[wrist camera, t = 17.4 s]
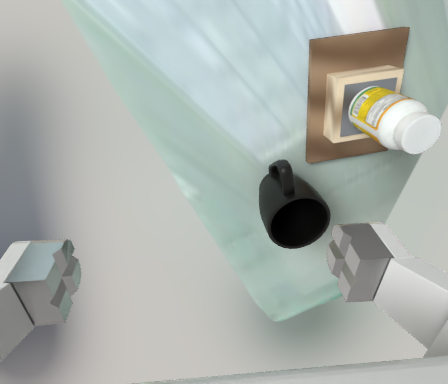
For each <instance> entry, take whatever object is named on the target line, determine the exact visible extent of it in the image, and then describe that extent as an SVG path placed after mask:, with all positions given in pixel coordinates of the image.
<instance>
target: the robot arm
mask: <svg viewBox="0 0 448 384" xmlns="http://www.w3.org/2000/svg"><path fill="white" fill-rule="evenodd" d="M331 235H332V237H333V239H334V240H333V241H332V242H331V243H330V244H329V245H328V249H327V262H328V265H329V268H330V270H331V273H332V274H333V275H335V276H336V277H338V278H339V281H338V284H337V285H338V287H339V289H340V291H341V293H342V295H343V297H344V299H345V301H346V302H361V301H373V303H374V304H375V305H377V306H378V307H379V308H380V309H381V310H382V311H384V312H385V313H386V314H387V315H388V316H390V317H391V318H392V319H393V320H394V321H395V322H397V323H398V324H399V325H400V326H401V327H403V328H404V329H405V330H406V331H407V332H408V333H410V334H411V335H412V336H413V337H414V338H416V339H417V340H418V341H419V342H420V343H422V344H423V345H424V346H425V347H426V348H427V349H428V350H427V352H426V353H425V355H424V357H423V358H416V359H404V360H394V361H382V362H370V363H360V364H349V365H336V366H325V367H314V368H303V369H291V370H281V371H269V372H258V373H246V374H235V375H224V376H213V377H201V378H190V379H179V380H167V381H156V382H146V383H133V384H448V273H447V272H445V271H443V270H441V269H439V268H437V267H436V266H434V265H432V264H430V263H428V262H426V261H424V260H422V259H421V258H419V257H412V256H411V254H410V253H409V252H408V251H407V249H406V248H405V247H404V246H403V244H401V242H400V241H399V240H398V238H397V237H396V236H395V235H394V233H393V232H392V231H391V230H390V228H389V227H388V226H387V225H386V224H385V223H384V222H382V221H380V222H366V223H355V224H339V225H335V226H334V227H333V229H332V233H331ZM73 251H74V247H73V245H72V242H71V241H70V240H68V239H67V240H39V241H37V240H36V241H17V242H14V243H13V244H11V245H10V247H9V248H8V250H7V251H6V252H5V254H4V255H3V257H2V258H1V260H0V362H1V361H2V360H3V359H4V358H5V357H6V356H7V355H8V354H9V353H10V352H11V351H12V350H13V349H14V348H15V347H16V346H17V345H18V344H19V343H20V341H22V340H23V339H24V338H25V336H26V335H28V334H29V333H30V332H31V331H32V329H34V326H38V325H48V324H58V323H65V322H66V320H67V317H68V314H69V312H70V309H71V306H72V304H73V302H72V300H71V297H70V296H71V295H73V294H74V293H75V292H76V291H77V290H78V287H79V284H80V279H81V268H80V263H79V260H78V259H77V258H75V257H74V256H72V254H73Z"/></svg>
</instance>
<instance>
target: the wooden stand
mask: <svg viewBox="0 0 448 384" xmlns="http://www.w3.org/2000/svg"><path fill="white" fill-rule="evenodd" d="M409 29H410V27H399V28H392V29H385V30H377V31H370V32H362V33H355V34H348V35H340V36H333V37H325V38H318V39H311V40H310V46H309V76H308V105H307V135H306V162H307V163H314V162H320V161H326V160H332V159H338V158H344V157H350V156H356V155H362V154H368V153H375V152H381V151H387V150H388V148H386V147H384V146H383V145H381V144H380V143H378V142H377V141H375V140H374V139H372V138H371V137H369V136H368V135H366V134H365V133H363V132H362V131H360V130H359V129H357V128H356V127H354V126H353V125H352V124H351V122H350V120H349V115H348V111H349V106H350V104H351V102H352V100H353V98H354V97H355V96H356V95H357V94H358V93H359V92H360V91H361V90H363V89H365V88H367V87H371V86H380V87H383V88H385V89H388V90H391V91H393V92H396V93H399V94H400V89H401V83H402V78H403V72H404V69H402V68H403V62H404V56H405V51H406V45H407V40H408V34H409Z"/></svg>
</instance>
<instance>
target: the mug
mask: <svg viewBox="0 0 448 384" xmlns="http://www.w3.org/2000/svg"><path fill="white" fill-rule="evenodd" d="M259 207H260V214H261V218H262V221H263V223H264V226H265V228H266V230H267V233H268V235H269V237H270V239H271V240H272V241H273V242H274V243H275V244H277V245H278V246H281V247H283V248H289V249H295V248H301V247H305V246H307V245H310V244H311V243H313V242H315V241H316V240H317V239H319V238H320V237H321V236H322V235H323V233H324V232H325V231H326V229H327V227H328V225H329V222H330V210H329V207H328V205H327V204H326V202H325V201H324V200H323V199H322V197H321V196H320V195H319V194H318V192H317V191H316V190H315V189H314V188H313V187H311V186H310V185H309V184H308V183H307V182H305V181H304V180H302V179H300V178H299V177H297V176H294V175H293V172H292V168H291V166H290V164H289V163H288V162H287V161H286V160H278V161H276V162H274V163H272V164H271V165H270V166H269V174H268V175H266V176H265V177H264V178H263V180H262V181H261V184H260V187H259Z"/></svg>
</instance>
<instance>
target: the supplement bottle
mask: <svg viewBox="0 0 448 384" xmlns="http://www.w3.org/2000/svg"><path fill="white" fill-rule="evenodd" d="M348 115H349V120H350V122H351V124H352V125H353V126H354V127H356V128H357V129H359V130H360V131H362V132H363V133H365V134H366V135H368V136H369V137H371V138H372V139H374V140H375V141H377V142H378V143H380V144H381V145H383V146H384V147H386V148H388V149H392V150H403V151H405V152H407V153H409V154H420V153H422V152H425V151H426V150H428V149H429V148H431V147H432V146H433V145H434V144H435V143H436V141H437V140H438V138H439V136H440V134H441V129H442V127H441V122H440V120H439V119H438V118H437V117H435V116H433V115H431V114H429V113H428V110H427V108H426V107H425V106H424V105H423V104H422V103H421V102H419V101H417V100H414V99H412V98H409V97H406V96H404V95H401V94H399V93H396V92H393V91H391V90H388V89H385V88H383V87H380V86H371V87H367V88H365V89H363V90H361V91H360V92H359V93H358V94H357V95H356V96H355V97H354V98H353V100H352V102H351V104H350V106H349V111H348Z"/></svg>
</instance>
